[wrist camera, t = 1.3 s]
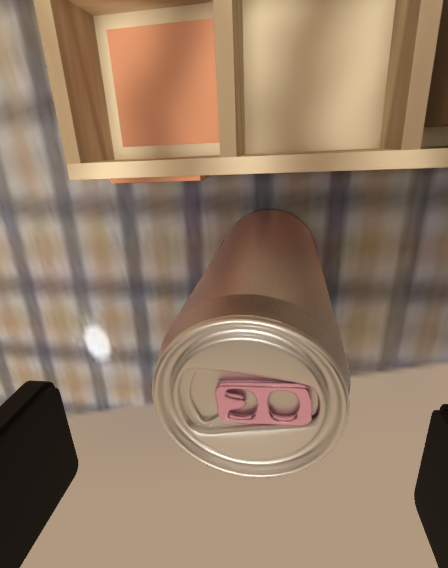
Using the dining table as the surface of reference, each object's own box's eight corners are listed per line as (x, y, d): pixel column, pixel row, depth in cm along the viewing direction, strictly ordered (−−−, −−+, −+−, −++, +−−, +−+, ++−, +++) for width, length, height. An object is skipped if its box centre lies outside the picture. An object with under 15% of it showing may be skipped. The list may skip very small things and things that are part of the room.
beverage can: (314, 291, 24) (353, 491, 10) (229, 294, 25) (162, 476, 11) (314, 204, 22) (362, 310, 8) (221, 210, 23) (126, 314, 9)
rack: (609, -58, 16) (742, -140, 11) (547, 162, 19) (628, 168, 15) (86, 6, 20) (26, -34, 15) (113, 176, 23) (70, 185, 19)
